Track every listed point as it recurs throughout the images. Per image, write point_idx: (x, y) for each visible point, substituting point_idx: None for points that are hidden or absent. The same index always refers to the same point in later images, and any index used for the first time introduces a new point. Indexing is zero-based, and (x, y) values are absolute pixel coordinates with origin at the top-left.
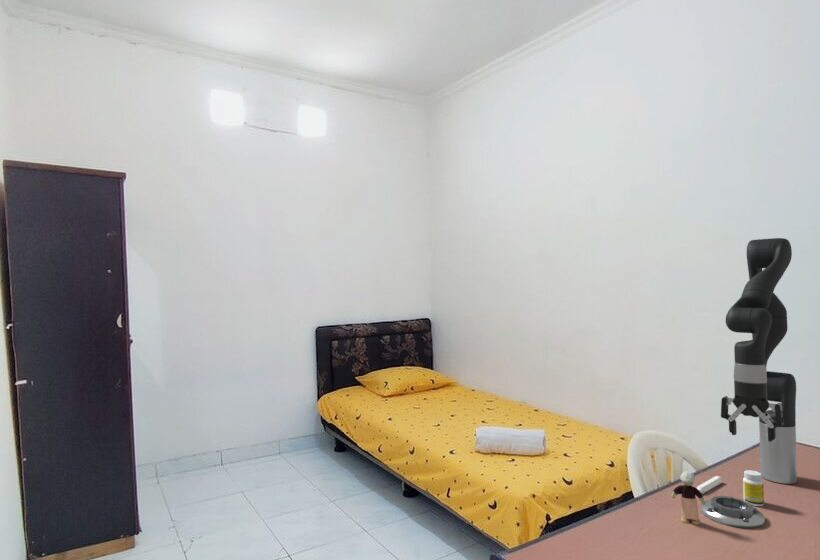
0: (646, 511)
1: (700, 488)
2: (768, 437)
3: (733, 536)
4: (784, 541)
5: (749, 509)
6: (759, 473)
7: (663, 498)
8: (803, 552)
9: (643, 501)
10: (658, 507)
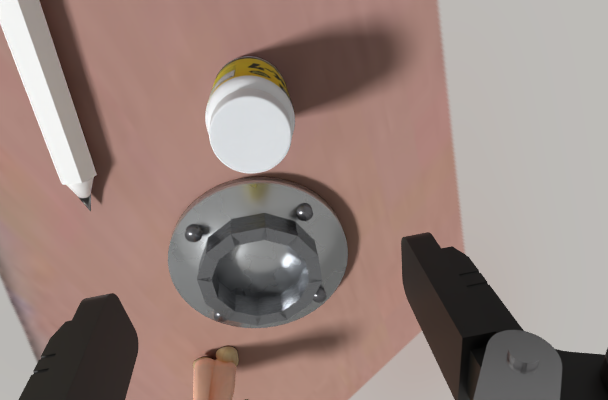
0: None
1: (80, 186)
2: (419, 317)
3: (319, 347)
4: None
5: (318, 279)
6: (278, 120)
7: (65, 307)
8: None
9: None
10: None
